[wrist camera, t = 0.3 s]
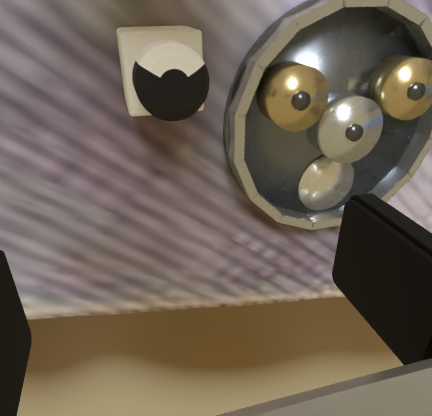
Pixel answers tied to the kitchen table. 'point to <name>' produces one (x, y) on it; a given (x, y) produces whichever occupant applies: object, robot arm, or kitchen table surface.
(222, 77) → the kitchen table surface
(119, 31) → the medicine bottle
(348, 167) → the carrier
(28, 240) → the kitchen table surface
